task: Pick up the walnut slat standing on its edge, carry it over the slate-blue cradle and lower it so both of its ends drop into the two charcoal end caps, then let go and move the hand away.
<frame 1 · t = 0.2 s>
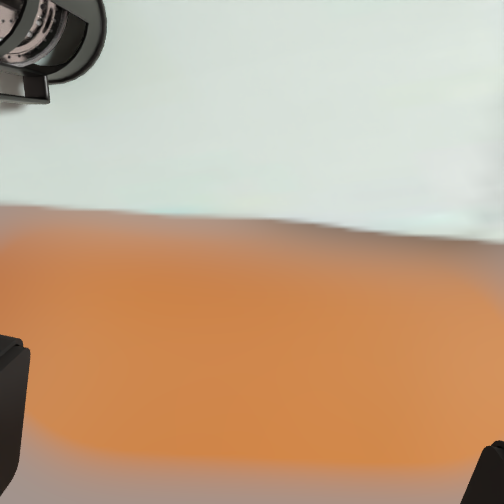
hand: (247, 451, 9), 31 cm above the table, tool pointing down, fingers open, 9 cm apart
french press: (49, 28, 36), on the table
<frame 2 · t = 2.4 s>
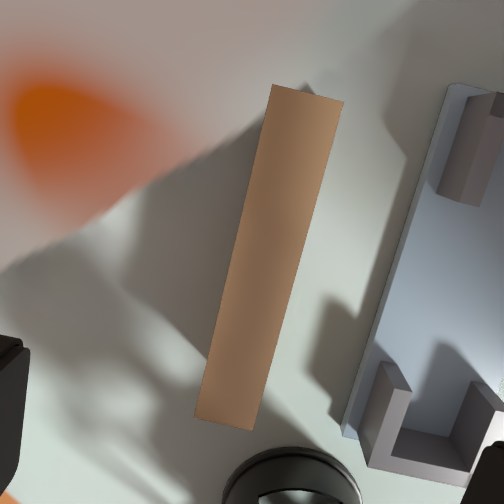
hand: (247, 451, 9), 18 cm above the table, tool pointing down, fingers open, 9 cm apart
slat: (262, 243, 27), on the table
cradle: (455, 288, 27), on the table
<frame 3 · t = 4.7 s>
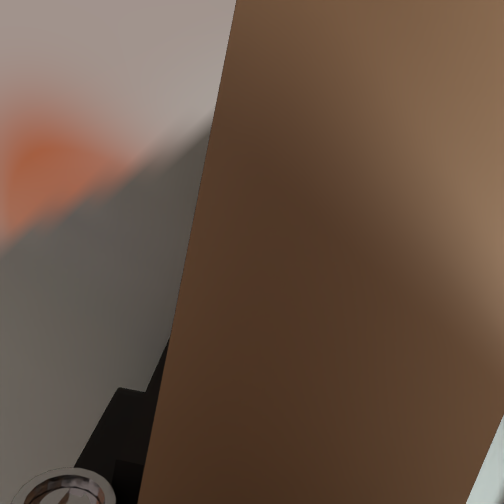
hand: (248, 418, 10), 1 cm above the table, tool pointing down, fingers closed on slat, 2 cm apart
slat: (249, 404, 11), on the table, touching gripper
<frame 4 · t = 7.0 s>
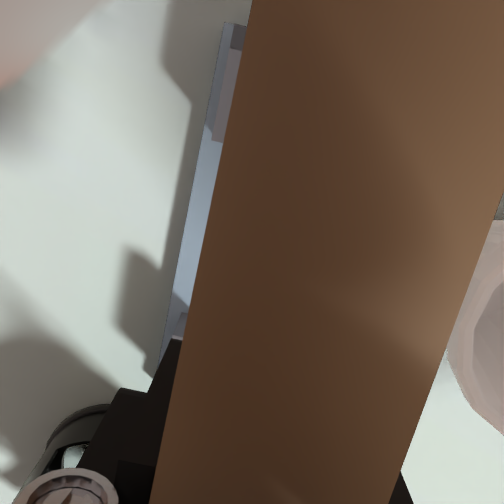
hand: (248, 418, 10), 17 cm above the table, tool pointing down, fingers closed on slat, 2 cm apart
slat: (251, 374, 12), point 15 cm above the table, touching gripper
cup: (475, 269, 27), on the table
french press: (112, 467, 31), on the table
cradle: (255, 238, 26), on the table
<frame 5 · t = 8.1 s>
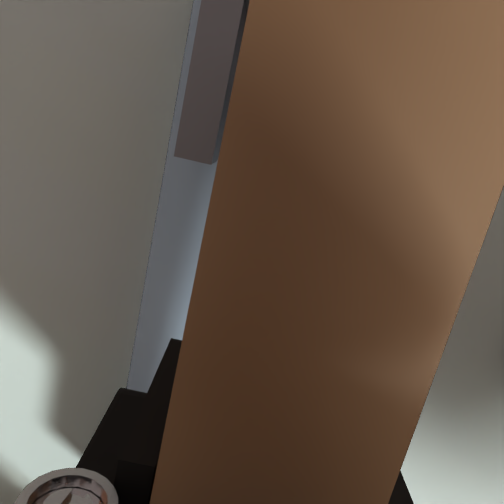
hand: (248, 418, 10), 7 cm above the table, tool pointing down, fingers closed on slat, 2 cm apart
slat: (250, 374, 12), point 5 cm above the table, touching gripper
cradle: (255, 302, 17), on the table
when the fingers open (3 cm above the table, at t = 9.2 s): slat stays where it is, resting on cradle.
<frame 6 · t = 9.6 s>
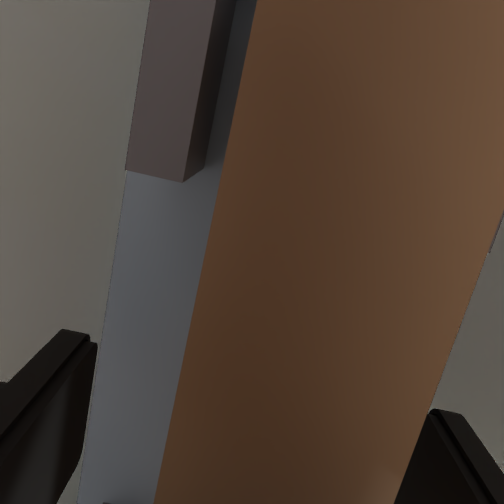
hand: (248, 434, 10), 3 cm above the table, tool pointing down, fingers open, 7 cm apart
slat: (253, 371, 12), point 1 cm above the table, touching cradle
cradle: (251, 356, 13), on the table
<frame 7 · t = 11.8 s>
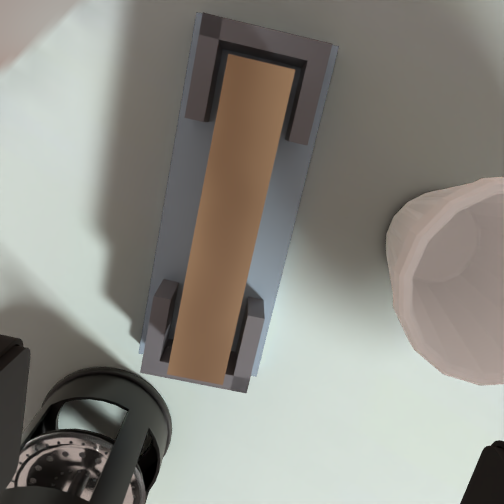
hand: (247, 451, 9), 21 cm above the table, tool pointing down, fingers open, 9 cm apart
slat: (230, 212, 28), point 1 cm above the table, touching cradle
cup: (431, 238, 30), on the table
french press: (103, 426, 33), on the table
cradle: (230, 210, 29), on the table
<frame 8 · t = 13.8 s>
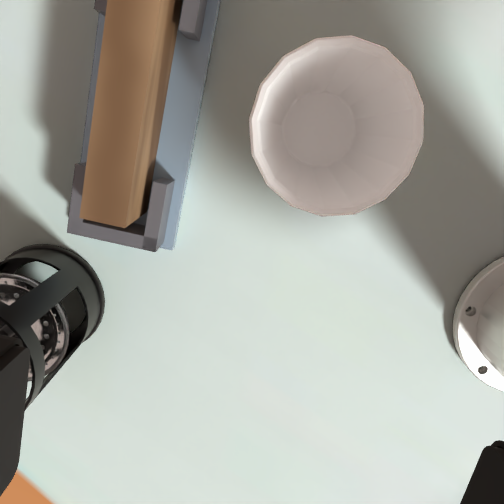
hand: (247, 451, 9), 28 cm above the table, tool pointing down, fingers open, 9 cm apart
slat: (144, 102, 34), point 1 cm above the table, touching cradle
cup: (317, 129, 35), on the table
french press: (47, 300, 39), on the table
cradle: (146, 104, 35), on the table
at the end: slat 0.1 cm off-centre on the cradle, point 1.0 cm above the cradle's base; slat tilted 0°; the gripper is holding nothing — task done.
